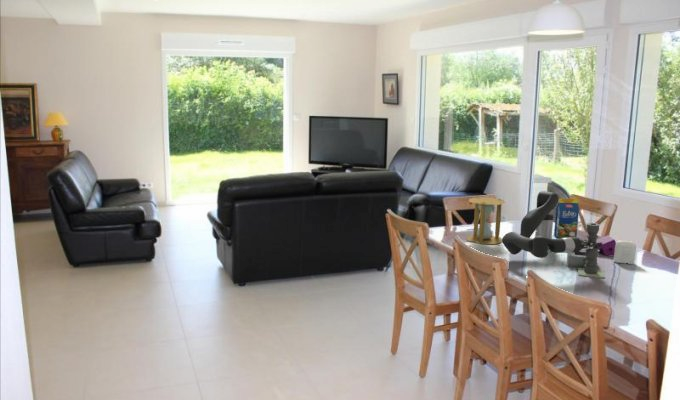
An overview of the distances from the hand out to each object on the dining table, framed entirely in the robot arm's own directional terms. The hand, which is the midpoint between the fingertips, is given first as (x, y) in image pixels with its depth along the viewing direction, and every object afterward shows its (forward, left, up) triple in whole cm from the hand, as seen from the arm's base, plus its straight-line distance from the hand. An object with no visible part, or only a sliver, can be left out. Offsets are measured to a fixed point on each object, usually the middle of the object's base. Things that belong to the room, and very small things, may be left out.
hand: (598, 243), depth 294 cm
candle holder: (-2, -1, -15) cm, 15 cm away
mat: (-2, -2, -16) cm, 16 cm away
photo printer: (+16, +26, -16) cm, 35 cm away
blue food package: (-13, +73, -16) cm, 76 cm away
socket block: (-6, +13, -16) cm, 21 cm away
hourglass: (-60, +46, -16) cm, 78 cm away
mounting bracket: (+3, +42, -16) cm, 45 cm away
